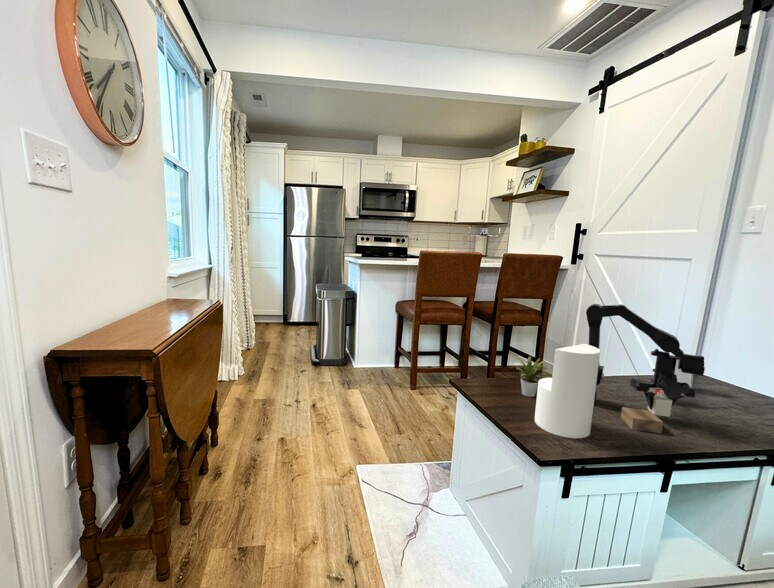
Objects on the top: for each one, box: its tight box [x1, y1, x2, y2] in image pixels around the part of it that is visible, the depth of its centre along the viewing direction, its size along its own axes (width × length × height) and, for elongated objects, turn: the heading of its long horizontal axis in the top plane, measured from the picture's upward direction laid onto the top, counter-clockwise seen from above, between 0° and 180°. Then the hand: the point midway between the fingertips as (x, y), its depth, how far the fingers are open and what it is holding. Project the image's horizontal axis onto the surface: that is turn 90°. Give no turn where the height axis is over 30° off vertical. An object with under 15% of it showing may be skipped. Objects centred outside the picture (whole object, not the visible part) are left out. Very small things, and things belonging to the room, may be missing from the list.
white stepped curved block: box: [534, 343, 601, 439], centre depth 120 cm, size 17×17×28 cm
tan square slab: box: [620, 406, 664, 434], centre depth 124 cm, size 9×9×4 cm
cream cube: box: [646, 394, 673, 418], centre depth 129 cm, size 5×5×6 cm
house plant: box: [515, 355, 552, 398], centre depth 145 cm, size 14×14×16 cm
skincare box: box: [672, 354, 694, 388], centre depth 161 cm, size 8×6×15 cm
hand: (658, 409), depth 130 cm, fingers closed on cream cube, 5 cm apart
